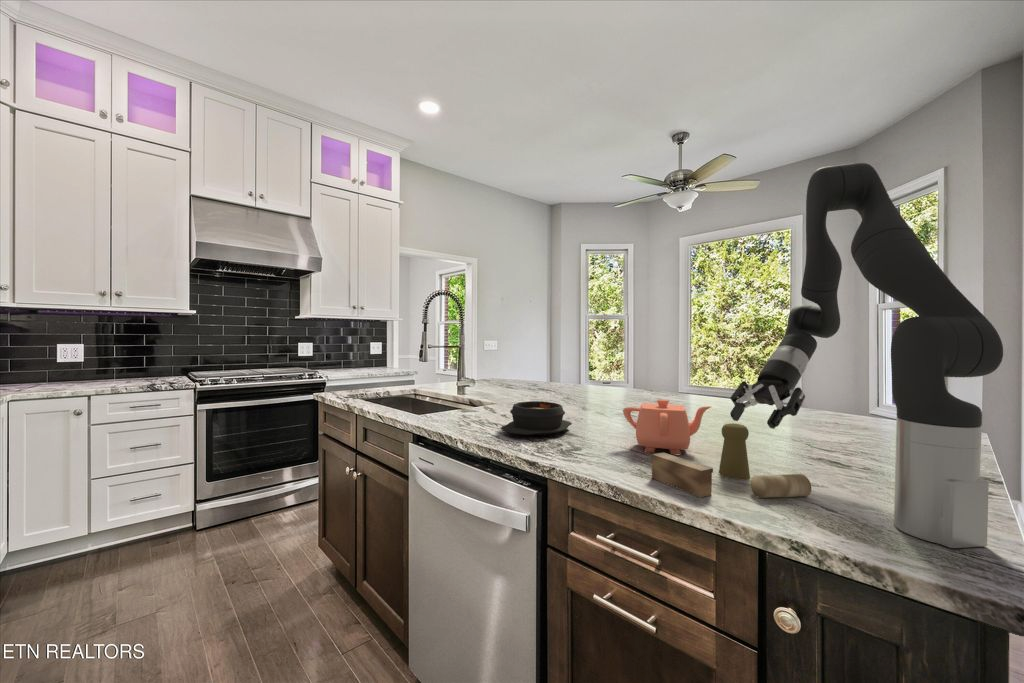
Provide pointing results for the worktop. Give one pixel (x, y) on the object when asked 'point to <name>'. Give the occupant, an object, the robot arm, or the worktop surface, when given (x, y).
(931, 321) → the robot arm
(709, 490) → the block
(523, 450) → the worktop surface
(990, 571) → the worktop surface
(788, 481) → the roller
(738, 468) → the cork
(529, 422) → the casserole
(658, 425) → the teapot
